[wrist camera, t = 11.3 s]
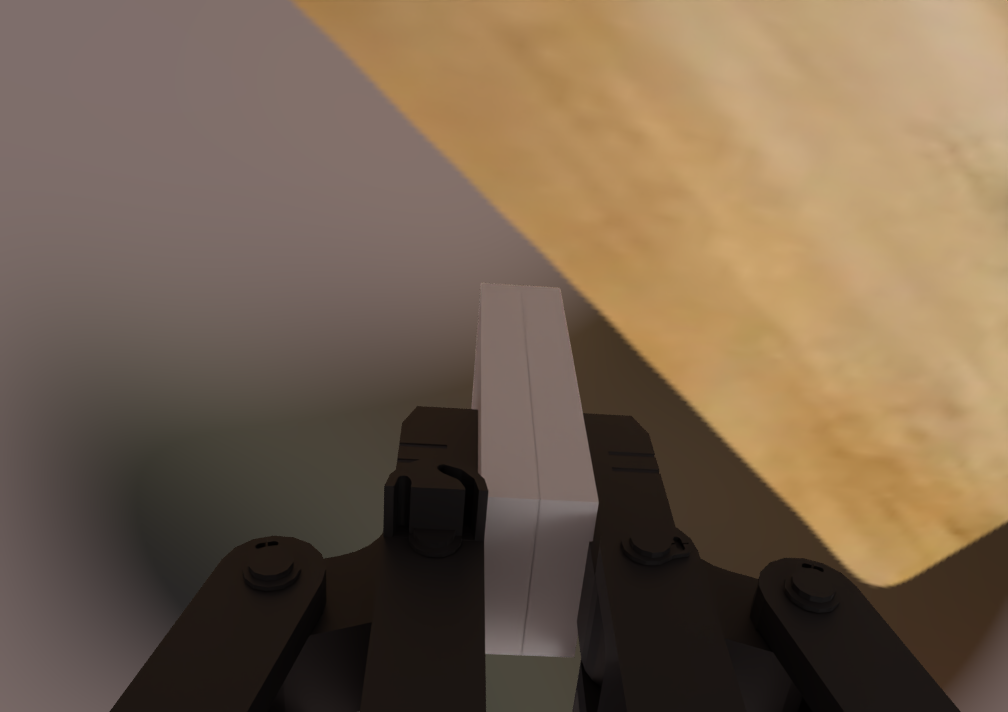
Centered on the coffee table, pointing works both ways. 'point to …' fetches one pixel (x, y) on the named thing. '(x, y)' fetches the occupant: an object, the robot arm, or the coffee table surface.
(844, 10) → the coffee table surface
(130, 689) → the robot arm
